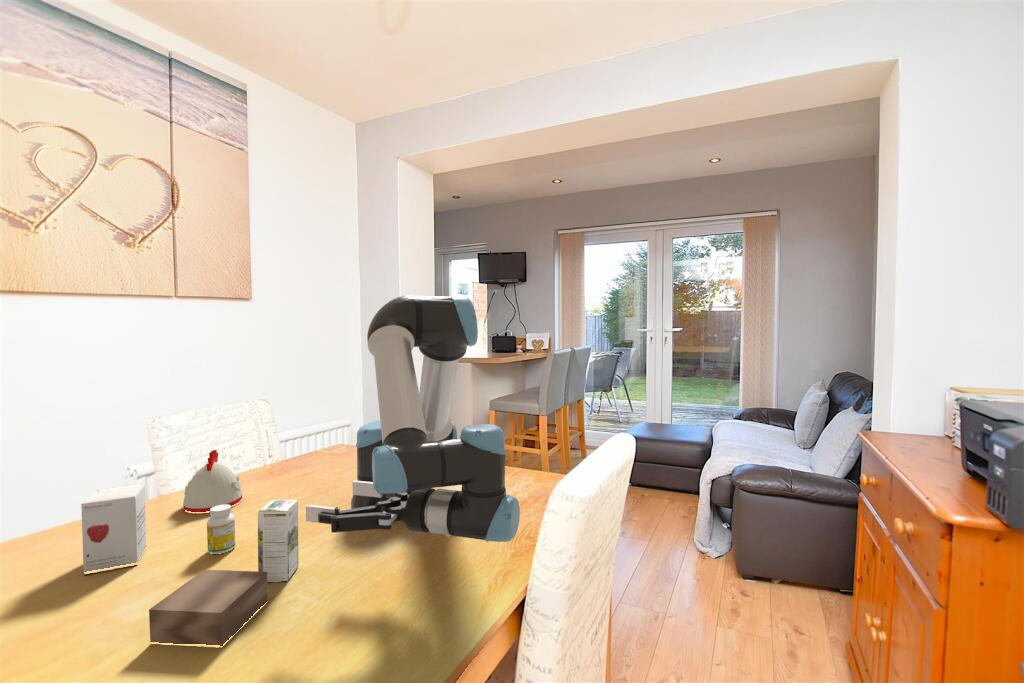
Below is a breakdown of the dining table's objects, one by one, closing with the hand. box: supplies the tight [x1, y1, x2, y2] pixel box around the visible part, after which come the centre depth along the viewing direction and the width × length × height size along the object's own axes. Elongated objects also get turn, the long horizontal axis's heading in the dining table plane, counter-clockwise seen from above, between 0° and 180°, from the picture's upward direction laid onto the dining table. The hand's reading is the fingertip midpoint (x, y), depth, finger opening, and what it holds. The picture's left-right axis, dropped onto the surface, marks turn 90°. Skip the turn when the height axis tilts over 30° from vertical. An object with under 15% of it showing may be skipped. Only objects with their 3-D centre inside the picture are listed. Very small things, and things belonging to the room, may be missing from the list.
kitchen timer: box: [182, 449, 243, 512], centre depth 131 cm, size 14×14×15 cm
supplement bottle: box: [206, 504, 237, 555], centre depth 105 cm, size 5×5×10 cm
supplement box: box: [80, 483, 147, 573], centre depth 100 cm, size 9×9×15 cm
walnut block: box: [148, 569, 269, 646], centre depth 80 cm, size 12×12×6 cm
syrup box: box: [257, 499, 299, 583], centre depth 94 cm, size 6×6×14 cm
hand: (331, 499), depth 90 cm, fingers open, 13 cm apart
